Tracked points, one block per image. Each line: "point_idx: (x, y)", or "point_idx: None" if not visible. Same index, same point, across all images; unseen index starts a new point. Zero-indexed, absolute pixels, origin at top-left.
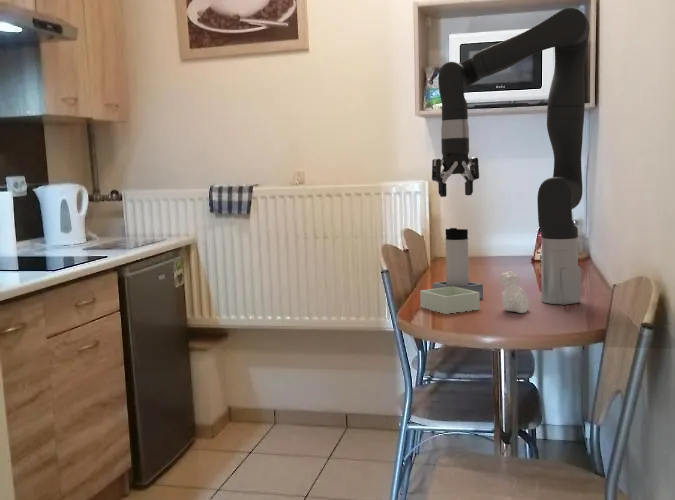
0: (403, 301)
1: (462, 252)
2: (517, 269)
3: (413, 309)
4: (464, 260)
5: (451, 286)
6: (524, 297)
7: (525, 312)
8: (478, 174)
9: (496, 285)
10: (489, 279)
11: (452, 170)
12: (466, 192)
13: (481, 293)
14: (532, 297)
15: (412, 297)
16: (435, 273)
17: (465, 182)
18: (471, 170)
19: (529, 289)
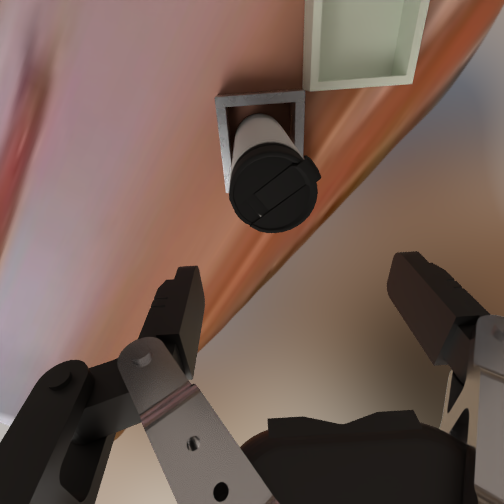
0: (373, 165)
1: (269, 132)
2: (18, 323)
3: (420, 68)
4: (260, 128)
5: (314, 90)
6: None
7: None
8: (29, 408)
9: (120, 213)
10: (107, 271)
11: (496, 446)
12: (201, 302)
13: (220, 95)
14: (98, 27)
15: (332, 192)
16: None
17: (191, 372)
18: (81, 501)
19: (66, 132)
